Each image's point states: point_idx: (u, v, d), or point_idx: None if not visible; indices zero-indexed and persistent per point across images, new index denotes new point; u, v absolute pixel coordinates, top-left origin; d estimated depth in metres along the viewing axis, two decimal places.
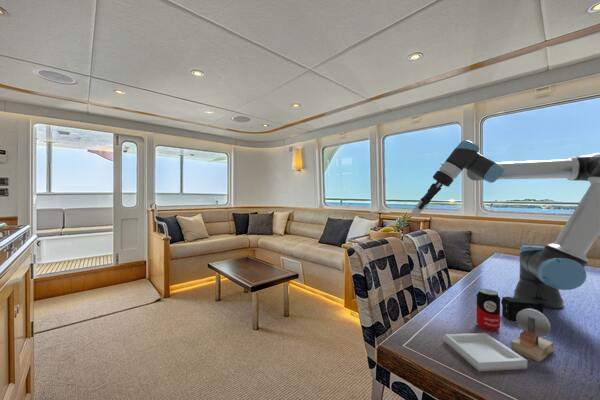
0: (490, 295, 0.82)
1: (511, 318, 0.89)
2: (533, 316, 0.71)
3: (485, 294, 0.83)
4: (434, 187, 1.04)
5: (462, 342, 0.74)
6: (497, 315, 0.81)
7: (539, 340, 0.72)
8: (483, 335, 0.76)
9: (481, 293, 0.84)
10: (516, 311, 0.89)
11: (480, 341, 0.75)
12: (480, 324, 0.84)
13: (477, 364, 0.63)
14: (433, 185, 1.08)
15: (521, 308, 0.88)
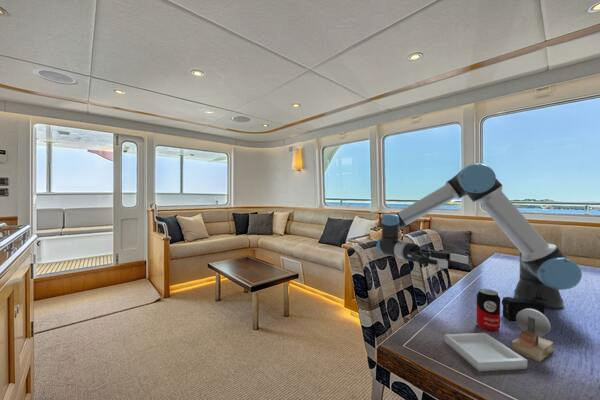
0: (490, 295, 0.82)
1: (512, 319, 0.89)
2: (533, 316, 0.71)
3: (485, 294, 0.83)
4: (412, 258, 1.01)
5: (462, 342, 0.74)
6: (497, 315, 0.81)
7: (539, 340, 0.72)
8: (483, 335, 0.76)
9: (481, 293, 0.84)
10: (517, 311, 0.88)
11: (480, 341, 0.75)
12: (480, 324, 0.84)
13: (477, 364, 0.63)
14: None
15: (522, 308, 0.88)
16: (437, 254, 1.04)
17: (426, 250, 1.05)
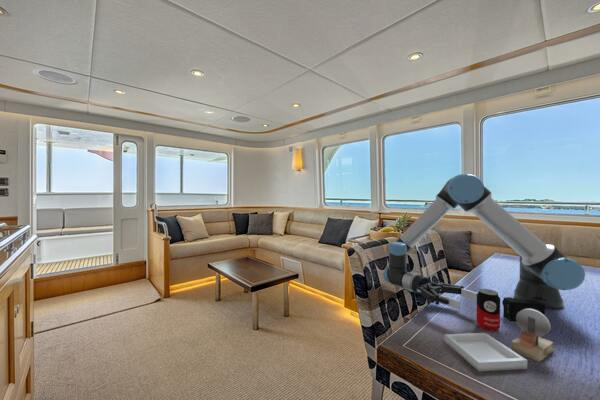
0: (490, 295, 0.82)
1: (513, 319, 0.88)
2: (533, 316, 0.71)
3: (485, 294, 0.83)
4: (421, 294, 0.97)
5: (462, 342, 0.74)
6: (497, 315, 0.81)
7: (539, 340, 0.72)
8: (483, 335, 0.76)
9: (481, 293, 0.84)
10: None
11: (480, 341, 0.75)
12: (480, 324, 0.84)
13: (477, 364, 0.63)
14: None
15: None
16: (448, 289, 1.00)
17: (436, 284, 1.01)
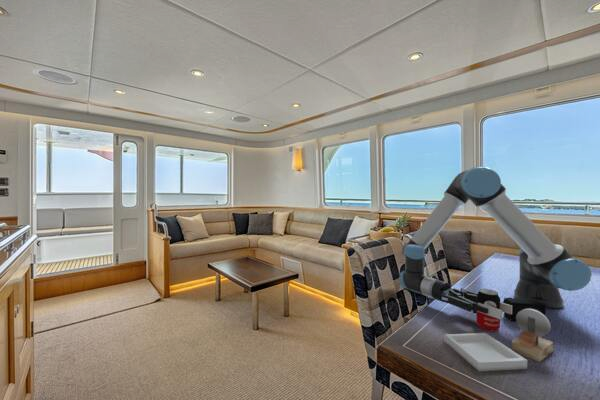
0: (490, 295, 0.82)
1: (513, 320, 0.88)
2: (533, 316, 0.71)
3: (485, 294, 0.83)
4: (449, 302, 0.89)
5: (462, 342, 0.74)
6: None
7: (539, 340, 0.72)
8: (483, 335, 0.76)
9: (481, 293, 0.84)
10: None
11: (480, 341, 0.75)
12: (480, 324, 0.84)
13: (477, 364, 0.63)
14: None
15: None
16: (471, 297, 0.91)
17: (458, 290, 0.94)
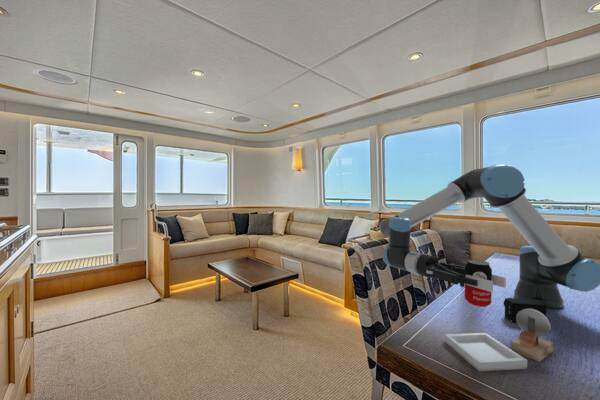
0: (480, 265, 0.71)
1: (514, 320, 0.88)
2: (533, 316, 0.71)
3: (474, 264, 0.72)
4: (434, 275, 0.78)
5: (462, 342, 0.74)
6: None
7: (539, 340, 0.72)
8: (483, 335, 0.76)
9: (470, 263, 0.73)
10: None
11: (480, 341, 0.75)
12: (468, 299, 0.72)
13: (477, 364, 0.63)
14: None
15: None
16: (460, 271, 0.80)
17: (445, 264, 0.82)
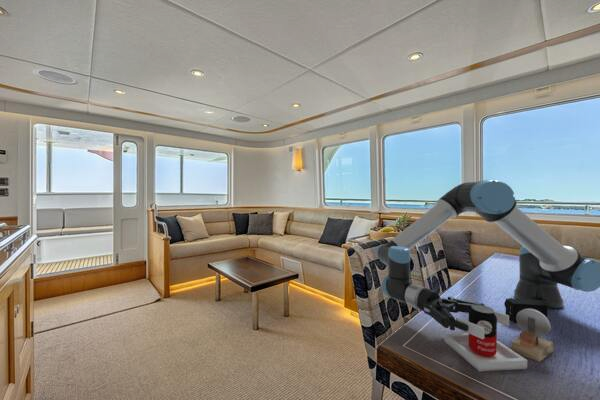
0: (485, 313, 0.67)
1: (515, 321, 0.87)
2: (533, 316, 0.71)
3: (479, 312, 0.68)
4: (430, 314, 0.75)
5: (462, 342, 0.74)
6: (493, 338, 0.67)
7: (539, 340, 0.72)
8: None
9: (474, 310, 0.69)
10: None
11: None
12: (472, 348, 0.69)
13: (477, 364, 0.63)
14: None
15: None
16: (464, 307, 0.78)
17: (448, 301, 0.79)
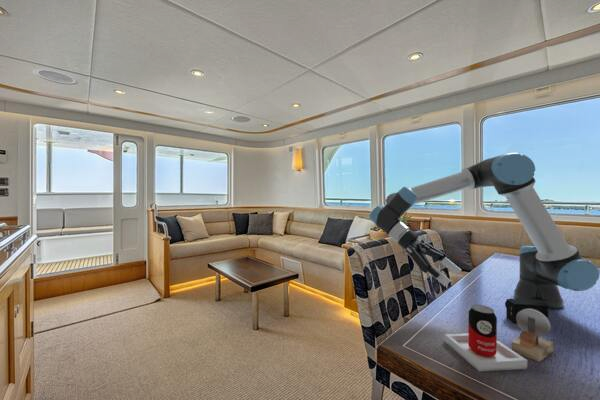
0: (484, 313, 0.67)
1: (516, 321, 0.87)
2: (533, 316, 0.71)
3: (478, 312, 0.68)
4: (411, 255, 0.90)
5: (462, 342, 0.74)
6: (493, 338, 0.67)
7: (539, 340, 0.72)
8: None
9: (474, 310, 0.69)
10: None
11: None
12: (472, 348, 0.69)
13: (477, 364, 0.63)
14: None
15: None
16: (432, 253, 0.96)
17: (425, 246, 0.95)
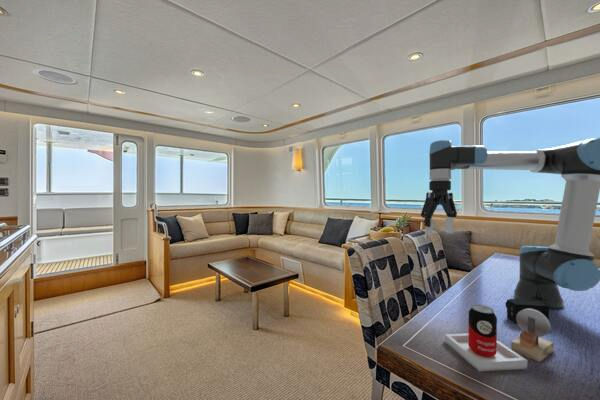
0: (484, 313, 0.67)
1: None
2: (533, 316, 0.71)
3: (478, 312, 0.68)
4: (426, 199, 0.97)
5: (462, 342, 0.74)
6: (493, 338, 0.67)
7: (539, 340, 0.72)
8: None
9: (474, 310, 0.69)
10: None
11: None
12: (472, 348, 0.69)
13: (477, 364, 0.63)
14: None
15: None
16: (446, 208, 1.02)
17: (446, 200, 1.00)
